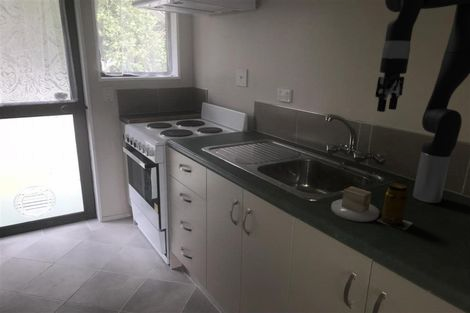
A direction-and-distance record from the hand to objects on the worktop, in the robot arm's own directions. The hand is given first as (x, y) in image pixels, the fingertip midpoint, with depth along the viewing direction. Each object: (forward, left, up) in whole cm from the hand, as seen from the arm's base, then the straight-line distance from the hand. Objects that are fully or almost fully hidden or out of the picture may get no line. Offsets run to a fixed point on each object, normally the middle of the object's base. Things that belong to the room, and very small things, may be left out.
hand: (386, 110), depth 109 cm
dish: (+8, -2, -33) cm, 34 cm away
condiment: (+6, +10, -33) cm, 35 cm away
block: (+8, -2, -32) cm, 33 cm away
